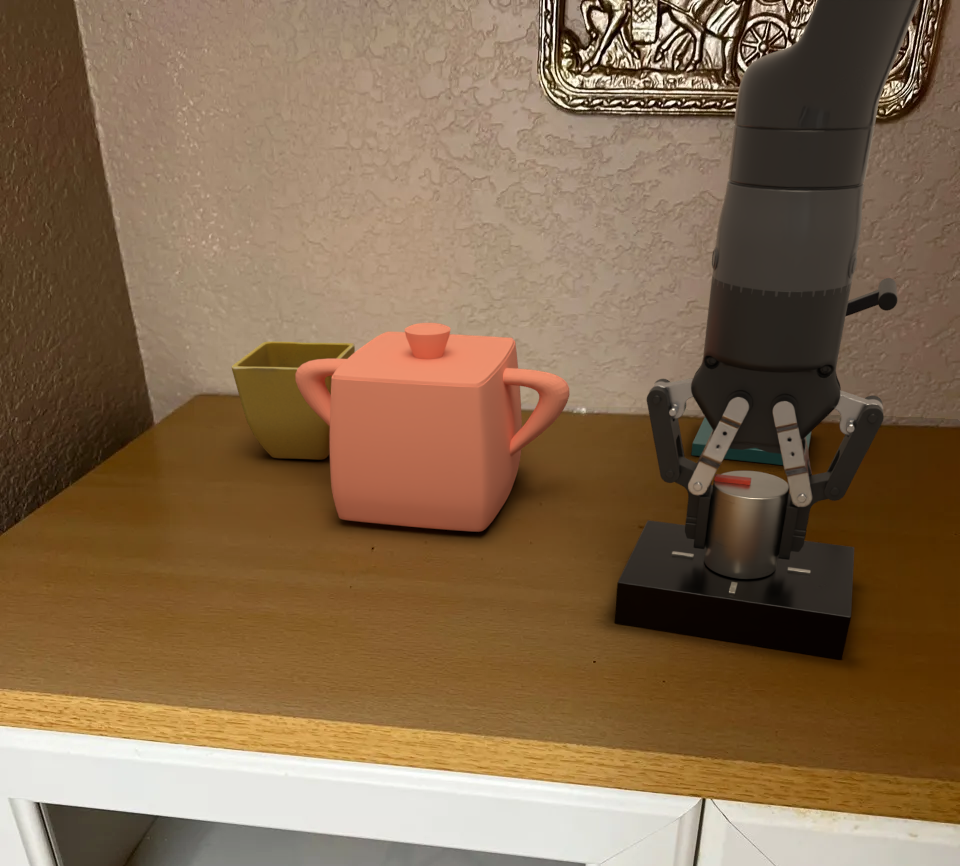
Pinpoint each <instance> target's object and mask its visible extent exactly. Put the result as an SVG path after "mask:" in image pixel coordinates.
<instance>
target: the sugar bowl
mask: <svg viewBox="0 0 960 866" xmlns="http://www.w3.org/2000/svg"><path fill="white" fill-rule="evenodd" d="M451 329H452V328H451V327H450V326H448V325H446V324H443V323H439V322H419V323H414V324H411V325H409V326H406V327H405V328H404V331H385V332H383V333H381V334H378V335H377V336H375V337H374V338H372V339H371V340H369V341H368V342H367V343H365V344H364V345H362V346H361V347H360V348H358V349H357V350H355V353H353V354H352V355H351V356H350V357H349V358H348V359H317V360H312V361H308V362H306V363H304V364H302V365H301V366H300V367H299V368H298V369H297V371H296V374H295V376H296V383H297V386H298V389H299V390H300V392H301V394H302V396H303V397H304V399H305V401H306V402H307V403H308V404H309V406H310V407H311V408H312V409H313V410H314V411H315V412H316V413H317V414H318V415H319V416H320V417H321V418H322V419H323V420H324V421H325V422H326V423H327V424H328V425H329V426H330V454H329V469H330V485H331V493H332V498H333V503H334V506H335V510H336V514H337V516H338V519H340V520H343V521H350V522H360V523H370V524H378V525H379V524H380V525H388V526H389V525H390V526H399V527H400V526H401V527H409V528H411V527H412V528H421V529H435V530H447V531H461V532H476V533H477V532H478V533H479V532H483V531H484V530H486V529H487V528H488V527H489V526H490V525H491V523H493V521H494V519H495V518H496V517H497V515H498V514H499V512H500V511H501V510H502V508H503V506H504V505H505V503H506V502H507V500H508V498H509V496H510V494H511V492H512V489H513V486H514V484H515V481H516V479H517V475H518V470H519V466H520V462H521V457H522V449H523V448H525V447H526V446H527V445H529V444H530V443H532V442H533V441H534V440H535V439H537V438H538V437H539V436H540V435H542V434H543V433H544V432H545V431H546V430H547V429H548V428H549V427H551V425H553V424H554V423H555V421H557V419H558V418H559V417H560V416H561V414H562V413H563V411H564V409H565V408H566V406H567V404H568V401H569V398H570V386H569V384H568V382H567V381H566V380H565V379H564V378H563V377H560V376H558V374H554V373H551V372H548V371H542V370H538V369H529V368H519V363H518V362H519V361H518V351H517V344H516V340H515V339H514V338H513V337H505V336H492V335H491V336H490V335H475V334H474V335H472V334H457V333H455V334H453V333H451ZM331 375H332V380H331V394H330V393H329V391H328V389H327V387H326V384H325V378H326V377H327V376H331ZM521 387H524V388H528V389H531V390H534V391H536V392H537V394H538V401H537V404H536V406H535V407H534V409H533V411H532V412H531V414H530V415H529V416H528V419H527V420H526V421H525V423H524V424H522V423H523V421H522V420H523V418H522V398H521V397H522V395H521Z"/></svg>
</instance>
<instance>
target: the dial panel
mask: <svg viewBox="0 0 960 866" xmlns="http://www.w3.org/2000/svg"><path fill="white" fill-rule="evenodd" d="M705 547H706V546H705ZM704 555H705V549H699V548H694V539H688V538H687V537H686V534H685V524H679V523H672V522H664V521H656V520H650V519H649V520H647V521H646V523H645V524H644V527H643V529H642V531H641V533H640V535H639V537H638V539H637V541H636V544H635V546H634V547H633V550H632V552H631V554H630V556H629V558H628V560H627V561H626V564H625V566H624V568H623V570H622V572H621V574H620V576H619V578H618V580H617V585H616V598H615V610H614V611H615V612H614V623H615V624H619V625H625V626H632V627H637V628H644V629H651V630H656V631H662V632H669V633H674V634H679V635H686V636H693V637H698V638H704V639H705V638H706V639H711V640H717V641H718V640H719V641H724V642H730V643H736V644H742V645H747V646H748V645H750V646H756V647H761V648H766V649H773V650H779V651H786V652H792V653H797V654H799V653H800V654H803V655H804V654H805V655H811V656H816V657H817V656H818V657H822V658H829V659H835V660H843V656H844V652H845V648H846V643H847V637H848V634H849V628H850V625H851V619H852V609H853V608H852V607H853V606H852V604H853V587H854V586H853V583H854V567H855V565H854V564H855V546H849V545H842V544H841V545H840V544H832V543H827V542H826V543H825V542H819V541H818V542H817V541H810V540H804V545H803V547H802V548H801V550H800V551H799V552H793V551H791V553H790V558H789V560H787V559H779V558H778V561H777V567H776V569H775V571H774V572H773V573H772V574H770V575H768V576H766V577H762V578H757V579H738V578H731V577H727V576H724V575H721V574H718V573H716V572H714V571H712V570H711V569H709V568H708V567H707V566H706V564H705V562H704Z"/></svg>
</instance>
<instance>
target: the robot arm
mask: <svg viewBox="0 0 960 866" xmlns="http://www.w3.org/2000/svg"><path fill="white" fill-rule="evenodd" d="M920 1H921V0H816V2H815V5H814V6H813V10H812V12H811V14H810V17H809V19H808V21H807V23H806V26H805V28H804V30H803V32H802V34H801V36H800V38H799V39H798V40H797V41H796V42H795V43H793V44H792V45H791V46H788V47H786V48H784V49H779V50H777V51H773V52H770V53H768V54H765V55H763V56H760V57H759V58H758V59H755V60H754V61H752V62H751V63H750V64H748V65H749V66H747V68H746V69H745V70H744V72H743V74H742V78H741V80H740V84H739V87H738V93H737V96H736V97H737V98H736V105H735V112H734V119H733V124H734V125H733V130H732V138H731V149H730V157H729V165H728V174H727V179H728V180H727V181H726V187H725V188H726V189H725V194H724V199H723V202H722V207H721V209H720V210H721V211H720V214H719V218H718V224H717V230H716V239H715V246H714V248H713V250H712V255H711V256H712V257H711V268H712V274H711V282H710V283H711V284H710V291H709V300H708V308H707V309H708V310H707V319H706V327H705V335H704V347H703V354H702V355H703V356H702V361H701V364H700V366H699V368H697V370H696V372H695V373H694V376H693V377H692V378H686V379H681V380H675V381H674V380H673V381H670V380H668V379H667V378H659V379H657V380H656V381H655V382H654V384H653V385H652V386H651V388H650V390H649V392H648V394H647V396H646V405H647V410H648V415H649V416H648V417H649V420H650V421H649V422H650V426H651V431H652V437H653V442H654V448H655V453H656V460H657V465H658V469H659V474H660V475H659V476H660V478H661V480H662V481H664V482H665V483H667V484H674V483H675V484H678V485H680V486H682V487H683V488H684V489H685V490H686V492H687V495H688V497H687V507H686V515H685V523H684V525H685V534H686V537H687V538H688V539H694V548H699V549H705V546H706V539H707V531H708V523H709V514H710V506H711V498H712V490H713V484H712V483H713V482H712V481H713V480H714V478H715V475H716V474H717V471H718V470H719V468H720V466H721V465H722V463H723V460H725V459H724V457H725V455H726V453H727V451H728V449H739V450H744V449H751V448H758V449H760V450H763V451H766V452H769V453H778V454H781V455H782V460H783V465H782V466H783V469H784V473H785V475H786V477H787V479H786V480H787V483H788V485H789V495H788V501H787V507H786V513H785V519H784V525H783V531H782V537H781V543H780V549H779V555H778V558H779V559H787V560H789V558H790V553H791V551H793V552H799V551H800V550H801V548H802V547H803V545H804V541H806V534H807V529H808V523H809V517H810V512H811V509H812V507H813V506H814V505H815V504H816V503H817V502H821V501H825V500H829V501H831V502H832V501H833V502H836V501H840V500H841V499H843V498H844V497H845V495H846V493H847V491H848V489H849V487H850V485H851V484H852V481H853V479H854V478H855V476H856V474H857V471H858V470H859V468H860V466H861V464H862V462H863V461H864V458H865V457H866V454H867V452H869V449H870V447H871V445H872V443H873V442H874V439H875V437H876V435H877V434H878V431H879V430H880V428H881V425H882V424H883V421H884V419H885V417H884V416H885V415H884V403H883V401H882V398H881V397H879V396H878V395H868V396H866V397H862V396H859V395H856V394H853V393H850V392H847V391H845V390H841V383H840V380H839V378H838V374H837V367H838V359H839V354H840V349H841V342H842V337H843V332H844V327H845V322H846V317H847V316H846V311H847V305H848V301H849V300H850V294H851V289H852V283H853V276H854V273H855V271H856V269H857V266H858V250H859V245H860V239H861V232H862V220H863V218H862V217H863V201H864V200H863V199H864V190H865V185H864V183H865V181H866V178H867V172H868V167H869V161H870V155H871V150H872V144H873V139H874V132H875V128H876V127H875V126H876V120H877V115H878V107H879V103H880V100H881V96H882V94H883V91H884V88H885V86H886V83H887V81H888V78H889V75H890V73H891V71H892V68H893V66H894V64H895V61H896V58H897V56H898V54H899V53H900V50H901V48H902V45H903V42H904V40H905V37H906V35H907V32H908V30H909V28H910V24H911V22H912V20H913V17H914V15H915V13H916V11H917V8H918V6H919V4H920ZM845 316H846V317H845ZM691 398H693V399H694V401H695V403H696V404H697V406H698V407H699V409H700V411H701V412H702V414H703V416H704V418H705V417H706V419H707V421H708V422H709V424H710V426H711V428H712V429H713V431H712V433H711V435H710V437H709V439H708V441H707V443H706V445H705V448H704V450H703V452H702V454H701V456H699V458H698V460H697V461H693V460H691V459H689V458H687V457H685V451H684V446H683V445H684V444H683V441H682V434H681V429H680V423H679V419H680V418H681V417H683V415H684V413H685V411H686V408H687V401H688V400H689V399H691ZM833 411H836V412H838V414H839V415H840V418H839V431H840V432H841V433H842V434H843V435H844V436H843V438H842V441H841V442H840V444H839V447H838V448H837V450H836V453H835V454H834V457H833V459H832V460H831V462H830V464H829V467H828V469H827V470H826V472H821V473H816V474H813V473H812V467H811V461H810V455H809V454H810V453H809V449H808V446H807V440H806V436H807V435H808V434H809V433H810V432H811V431H812V432H813V430H814V429H815V428H816V427H818V426H819V425H820V423H822V422H823V421H824V420H825V419H826V418H827V417H828V416H829V415H830V414H831V413H832V412H833ZM812 432H811V433H812Z"/></svg>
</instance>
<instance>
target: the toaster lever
mask: <svg viewBox="0 0 960 866" xmlns="http://www.w3.org/2000/svg"><path fill="white" fill-rule="evenodd" d="M897 286H898V285H897V282H896V280H895V279H893V278H891V277H885V278H883V279H882V280H880V282H879V283H878V285H877V289H876V290H873V291H870V292H868V293H866V294H865V293H864V294H863V295H860V296H857V297H854V298H851V299H849V300H848V305H847V311H846V316H845V318H846V317H849V316H851V315H854V314H857V313H859V312H862V311H865V310H869V309H870V308H874V307H875V306H876V307H877V306H878V307H879V308H880V309H881V310H882V311H887V312H888V311H891V310H894V308H896V306H897V304H898V287H897Z"/></svg>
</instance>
